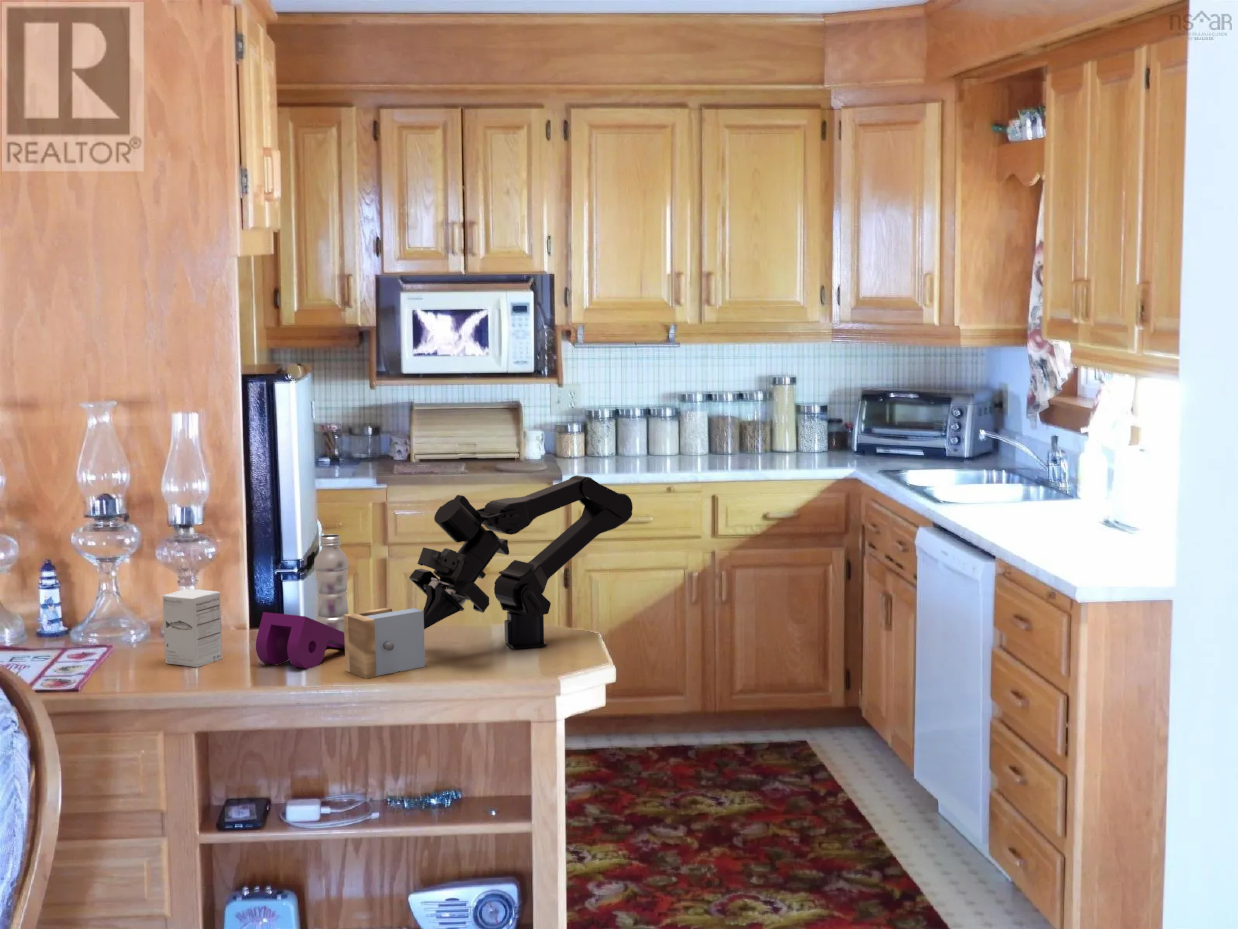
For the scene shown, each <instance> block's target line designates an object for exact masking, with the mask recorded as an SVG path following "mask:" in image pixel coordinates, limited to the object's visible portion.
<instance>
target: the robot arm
mask: <svg viewBox="0 0 1238 929" xmlns="http://www.w3.org/2000/svg"><path fill="white" fill-rule="evenodd" d="M576 502H579V503H580V504H581V505H582V506H584V508H583V511H582V514H581V516H579V518H578V519H577V520H576V521H575V522H574V523H572V524H571V525H570V526H569V527H567V529H565V530H564V532H562V533H561V534H560V535H559V536H557V537H556V538H555V539H554V540H553V541H551V542H550V543H549V544H548V545H547V546H546V547H545V548H544V549H543V550H541V551H540V552H539V553H538V554H537V555H536V556H535V557H533V558H532V559H531V560H530V561H528V562H526V561H521V560H517V559H514V560H513V561H512V562H510V563H509V565H507V567H506V568H504V569H503V570H501V571H498V574H499V576H498V577H497V578H496V579H495V581H494V587H493V590H494V596H495V598H496V600H497V601H498V602H499V605H500V607H501V609H502V611H506V619H505V620H504V621H503V623H504V627H503V628H504V643H506V644H507V645H508V646H509V647H510V648H511V649H513V650H519V649H530V648H542V647H547V646H548V643H547V642H546V641H545V627H544V623H545V622H544V620H545V619H544V617H545V616H544V615H549V612H550V608H551V604H552V603H551V601H549V599H548V598H546V597H545V595H543V594H544V592H545V591H546V586H547V583H548V581H549V580H550V579H551V577H552V576H554V575H555V574H556V573H557V572H558V571H560V570H561V569H562V568H563V567H564V566H565V565H566V564H567V563H569V562H570V561H571V560H572V559H573V558H574V557H575V556H577V555H578V553H580V552H581V551H582V550H583V549H584V548H585V547H586V546H587V545H589V544H590V543H591V542H592V541H593V540H594V539H596V537H598V536H599V535H600V534H603V533H607V532H609V531H611V530H614V529H617V528H618V527H620V526H622V525H623V524H625V523H626V522H629V520H630V519H631V518H632V515H633V501H632V499H631V498H630V496H629V495H627V494H626V493H622V492H621V493H620V492H616V491H615V490H613V489H611V488H609V487H607V486H605V485H602V484H601V483H599V482H598V481H596V480H595V479H593V478H592V477H589V476H584V475H578V474H577V475H573V476H572V477H569V479H565V480H563V481H561V482H558V483H555V484H553V485H550V486H548V487H545V488H542V489H540V490H537V491H534V492H532V493H530V494H527V495H524V496H519V497H508V498H507V497H506V498H505V497H504V498H501V499H500V498H499V499H494V500H491V501H489V502H487V503H486V504H485V505H484V507H482V508H481V507H480V508H479V509H476V508H475V507H474V506H473V505H472V504H471V503H470V501H469V500H468V499H467V497H466V496H465V495H461V494H457V495H456V496H455V497H454V498H453V499H450V500H449V501H447V502H446V503H444V504H443V505H441V506H439V508H437V511H436V512H435V514H434V517H433V519H434V522H435V523H436V524H437V525H438V526H439V527H440V529H442V530H443V532H445V533H446V535H448V537H450V538H451V539H452V540H453V541H454V542H455V543H463V544H462V546H461V547H460V548H459V550H458V551H455V550H453V549H450V548H447V547H445V548H443V550H442V551H439V550H436V549H432V548H429V547H422V549H421V552H420V555H419V558H418V561H417V563H416V564H417V565H418V566H424V567H426V568H430V569H432V570H433V572H432V571H431V570H428V569H424V568H417V569H414V570H413V572H412V573H411V574H410V576H409V577H408V578H409V580H410V581H411V582H412V583H413V584H414V585H415V586H416V587H417V588H418V589H419V590H421V591H422V592H423V593H424V594H425V595H426V600H425V603H424V604H425V605H424V608H423V609H422V610H423V611H424V630H426V629H428V628H429V627H431V626H433V625H435V624H437V623H439V622H441V621H443V620H444V619H446V618H448V617H450V616H453V615H454V614H457V613H459V612H464V610H465V607H463V606H464V604H465V602H466V601H470V602H471V603H472V604H473V605H472V606H473V607H472V608H473V610H474V611H476V612H479V613H485V611H487V608H488V607H489V606H490V597H489V596H488V595H487V594H486V593H485V592H484V591H483V590H482V589H481V587H479V585H477V584H476V581H477V579H482V580H483V579H484V578H485V577H486V575H487V574H486V572H485V571H484V570H485V569H486V568H487V566H488V565H489V564H490V562H491V561H492V560H493V558H494V557H495V555H496V554H500V555H501V554H502V555H506V556H508V555H509V554H510V549H509V543H508V542H509V540H508V539H505V538H500V537H499V536H498V535H497V534H496V533H501V534H504V535H505V534H506V535H509V536H510V535H515V534H517V533H519V532H520V531H522V530H524V529H525V528H527V527H529V526H530V525H531V523H532V522H533V521H534V520H535V519H537V518H538V517H540V516H543V515H546V514H548V513H551V512H554V511H556V510H558V509H560V508H561V509H562V508H563V507H566V506H568V505H570V504H573V503H576ZM482 525H483V526H482Z"/></svg>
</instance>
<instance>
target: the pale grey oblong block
mask: <svg viewBox="0 0 1238 929" xmlns="http://www.w3.org/2000/svg"><path fill="white" fill-rule="evenodd" d="M423 610H424V609H419V608H415V607H414V608H407V609H402V610H394V611H392V612H388V613H382V614H376V615H369V616H365V617H368V618H371V619H374V622H375V652H376V677H377V676H378V677H379V676H382V675H389V674H393V673H399V672H398V671H400V672H403V671H404V672H405V671H409V670H414V668H415V669H419V667H420V668H424V667H426V656H425V655H426V652H425V651H426V649H425V646H426V645H425V629H424V611H423Z"/></svg>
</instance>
